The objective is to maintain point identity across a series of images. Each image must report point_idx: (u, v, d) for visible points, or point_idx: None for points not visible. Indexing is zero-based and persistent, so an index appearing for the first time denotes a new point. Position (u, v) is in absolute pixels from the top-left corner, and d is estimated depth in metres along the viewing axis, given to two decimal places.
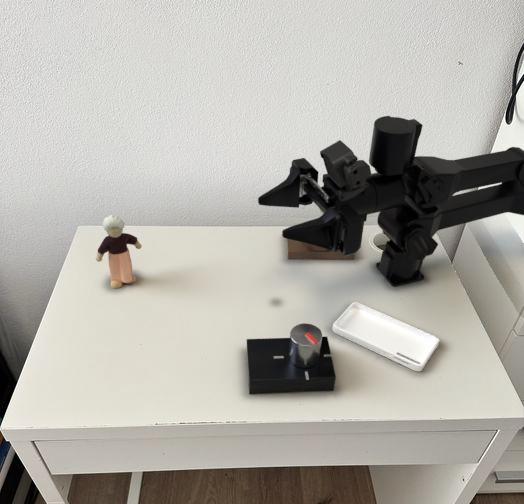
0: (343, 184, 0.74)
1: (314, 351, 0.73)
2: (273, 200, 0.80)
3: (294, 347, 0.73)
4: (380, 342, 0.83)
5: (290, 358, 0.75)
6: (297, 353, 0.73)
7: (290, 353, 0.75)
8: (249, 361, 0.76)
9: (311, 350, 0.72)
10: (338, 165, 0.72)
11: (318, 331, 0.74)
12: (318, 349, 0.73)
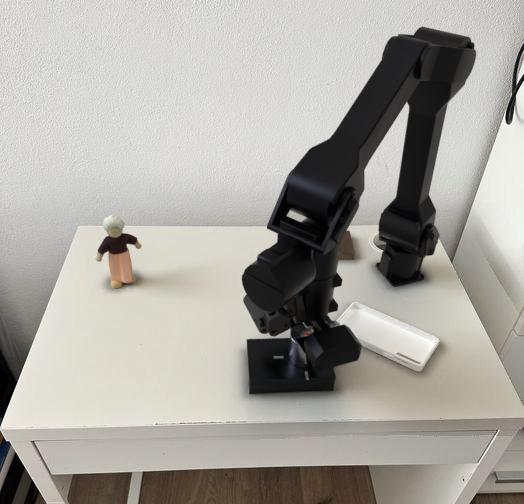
0: None
1: None
2: None
3: (294, 347, 0.73)
4: (380, 342, 0.83)
5: (290, 358, 0.75)
6: (297, 353, 0.73)
7: (290, 353, 0.75)
8: (249, 361, 0.76)
9: None
10: None
11: None
12: None
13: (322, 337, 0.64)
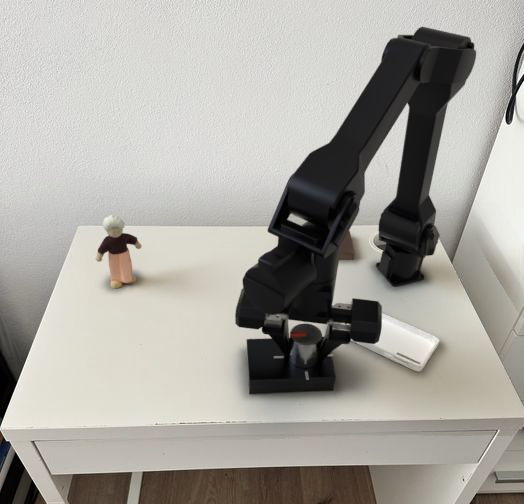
0: None
1: None
2: (321, 349, 0.74)
3: None
4: (380, 342, 0.83)
5: None
6: None
7: None
8: (249, 361, 0.76)
9: None
10: None
11: (304, 343, 0.72)
12: (291, 346, 0.74)
13: None
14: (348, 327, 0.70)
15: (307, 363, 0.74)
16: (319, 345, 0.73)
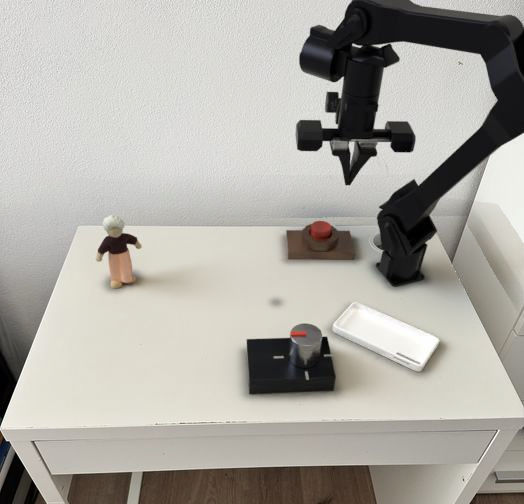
0: None
1: None
2: (350, 172, 0.91)
3: None
4: (380, 342, 0.83)
5: None
6: None
7: None
8: (249, 361, 0.76)
9: None
10: None
11: (304, 343, 0.72)
12: (291, 346, 0.74)
13: (313, 122, 0.86)
14: (373, 143, 0.86)
15: (307, 363, 0.74)
16: (319, 345, 0.73)
